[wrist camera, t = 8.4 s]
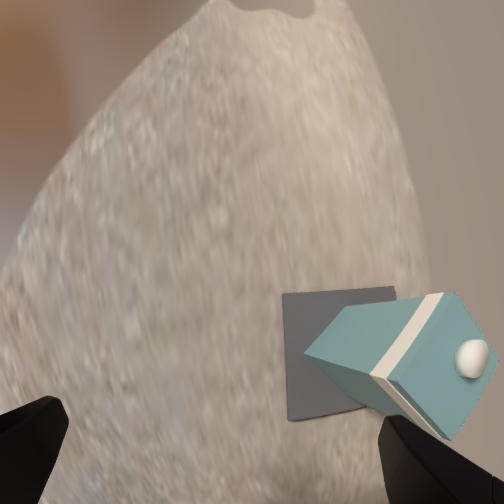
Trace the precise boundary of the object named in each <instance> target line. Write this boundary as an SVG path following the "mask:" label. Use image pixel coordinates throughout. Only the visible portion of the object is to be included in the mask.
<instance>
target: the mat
mask: <svg viewBox="0 0 504 504" xmlns="http://www.w3.org/2000/svg"><path fill="white" fill-rule="evenodd" d="M388 301H395V290H394V286H389V287H377V288H364V289H351V290H336V291H321V292H304V293H285V294H282V304H283V323H284V343H285V365H286V390H287V419H288V420H289V421H293V420H299V419H306V418H312V417H318V416H323V415H328V414H333V413H338V412H343V411H348V410H352V409H357V408H361V407H365V406H367V405H365V404H363V403H361V402H358V401H356V400H354V399H352V398H350V397H348V396H347V395H346V394H345V393H344V392H343V391H342V390H341V389H340V388H339V387H338V386H337V385H336V384H335V383H333V382H332V381H331V380H330V379H329V378H328V377H327V376H326V375H325V374H324V373H323V372H322V371H321V370H320V369H319V368H318V367H317V366H316V365H315V364H314V363H313V362H312V361H311V360H310V359H309V358H308V357H307V356H306V355H305V354H304V352H305V351H306V350H307V349H308V348H309V347H310V346H311V345H312V344H313V342H314V341H315V340H316V339H317V338H318V337H319V336H320V335H321V334H322V332H323V331H324V330H325V329H326V328H327V327H328V326H329V325H330V323H331V322H332V321H333V320H334V319H335V318H336V317H337V315H338V314H339V313H340V312H341V311H342V310H343V308H344V307H345V306H352V305H361V304H371V303H379V302H388Z"/></svg>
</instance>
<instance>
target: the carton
mask: <svg viewBox="0 0 504 504" xmlns="http://www.w3.org/2000/svg"><path fill="white" fill-rule="evenodd" d="M304 354H305V355H306V356H307V357H308V358H309V359H310V360H311V361H312V362H313V363H314V364H315V365H316V366H317V367H318V368H319V369H320V370H321V371H322V372H323V373H324V374H325V375H326V376H327V377H328V378H329V379H330V380H331V381H332V382H333V383H335V384H336V385H337V386H338V387H339V388H340V389H341V390H342V391H343V392H344V393H345V394H346V395H347V396H348V397H350V398H352V399H354V400H356V401H358V402H361V403H363V404H365V405H367V406H369V407H371V408H373V409H376V410H378V411H380V412H382V413H384V414H387V415H395V414H401V415H403V416H404V417H406V418H407V419H409V420H410V421H412V422H413V423H414V424H416V425H417V426H419V427H420V428H422V429H423V430H425V431H426V432H428V433H429V434H431V435H433V436H436V437H438V438H441V437H442V438H444V439H447V440H449V441H452V440H453V439H454V437H455V436H456V434H457V433H458V431H459V430H460V429H461V427H462V426H463V424H464V423H465V421H466V419H467V418H468V416H469V415H470V413H471V411H472V410H473V408H474V406H475V405H476V403H477V402H478V400H479V398H480V396H481V395H482V393H483V391H484V389H485V388H486V386H487V384H488V382H489V380H490V378H491V376H492V375H493V373H494V371H495V369H496V367H497V365H498V363H499V360H498V359H497V357H496V355H495V353H494V351H493V350H492V348H491V346H490V345H489V343H488V341H487V340H486V338H485V336H484V335H483V333H482V332H481V330H480V328H479V327H478V325H477V324H476V322H475V320H474V319H473V317H472V316H471V314H470V313H469V311H468V310H467V308H466V307H465V305H464V304H463V303H462V301H461V299H460V298H459V296H458V295H457V294H456V292H453V293H447V294H444V293H436V294H429V295H426V297H419V298H412V299H404V300H396V301H388V302H379V303H371V304H361V305H352V306H345V307H344V308H343V310H342V311H341V312H340V313H339V314H338V315H337V317H336V318H335V319H334V320H333V321H332V322H331V323H330V325H329V326H328V327H327V328H326V329H325V330H324V331H323V332H322V334H321V335H320V336H319V337H318V338H317V339H316V340H315V341H314V342H313V344H312V345H311V346H310V347H309V348H308V349H307V350H306V351H305V352H304Z"/></svg>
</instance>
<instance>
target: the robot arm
mask: <svg viewBox="0 0 504 504" xmlns="http://www.w3.org/2000/svg"><path fill="white" fill-rule="evenodd" d="M68 425H69V419H68V416H67V414H66V412H65V409H64V407H63V405H62V402H61V400H60V399H59V398H56V397H53V396H45V397H42V398H40V399H38V400H35V401H33V402H31V403H28V404H26V405H24V406H21V407H19V408H17V409H14V410H12V411H9V412H7V413H5V414H2V415H0V504H38V502H39V499H40V497H41V495H42V492H43V490H44V488H45V485H46V483H47V481H48V479H49V476H50V474H51V472H52V470H53V467H54V465H55V463H56V460H57V457H58V454H59V451H60V448H61V445H62V442H63V439H64V437H65V434H66V431H67V428H68ZM378 447H379V452H380V458H381V464H382V470H383V476H384V482H385V488H386V492H387V496H388V499H389V503H390V504H504V482H503V481H501V480H500V479H498V478H497V477H495V476H493V477H492V474H490V473H488V472H487V471H485V470H484V469H482V468H481V467H479V466H477V465H476V464H474V463H473V462H471V461H470V460H468V459H467V458H465V457H464V456H462V455H460V454H459V453H457V452H456V451H454V450H453V449H451V448H450V447H448V446H447V445H445V444H444V443H442V442H441V441H439V440H438V439H436V438H435V437H433V436H432V435H430V434H429V433H428V432H426V431H425V430H423V429H422V428H420V427H419V426H417V425H416V424H414V423H413V422H412V421H410V420H409V419H407V418H406V417H404V416H403V415H401V414H395V415H389V416H386V417H385V419H384V421H383V424H382V427H381V430H380V433H379V437H378Z"/></svg>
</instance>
